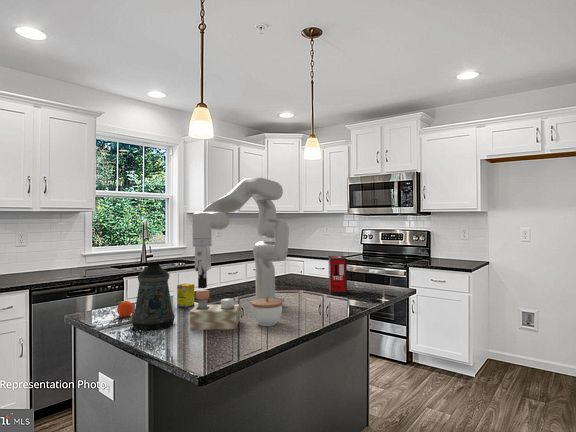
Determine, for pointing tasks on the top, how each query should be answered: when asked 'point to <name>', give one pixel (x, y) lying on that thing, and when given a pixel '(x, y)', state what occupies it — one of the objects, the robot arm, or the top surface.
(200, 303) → the terracotta button
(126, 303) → the clementine
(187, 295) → the supplement box
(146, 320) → the beer stein
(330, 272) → the cleaning product box
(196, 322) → the button box
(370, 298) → the top surface
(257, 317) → the lidded bowl
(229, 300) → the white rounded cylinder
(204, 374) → the top surface
